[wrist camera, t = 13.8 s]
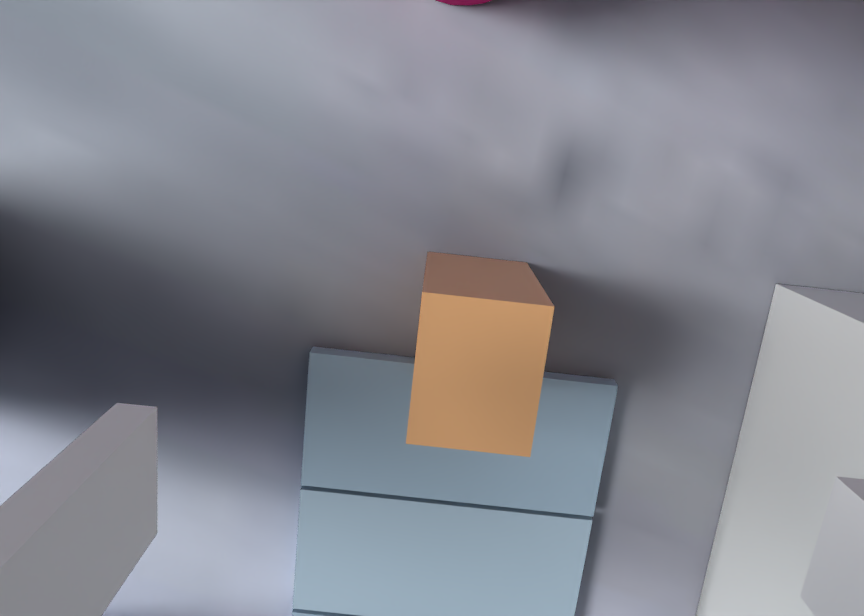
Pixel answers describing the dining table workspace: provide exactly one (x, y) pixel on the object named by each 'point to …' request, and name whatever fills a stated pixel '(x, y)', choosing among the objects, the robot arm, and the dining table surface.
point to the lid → (451, 460)
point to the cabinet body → (789, 453)
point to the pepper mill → (463, 2)
